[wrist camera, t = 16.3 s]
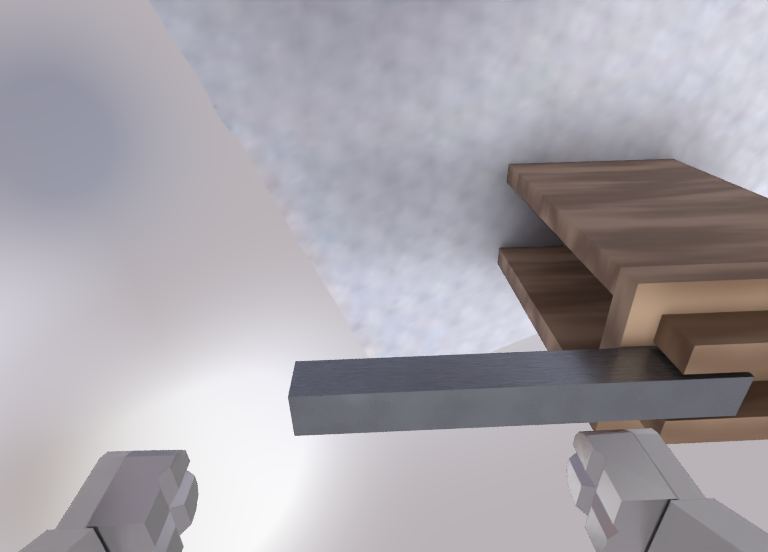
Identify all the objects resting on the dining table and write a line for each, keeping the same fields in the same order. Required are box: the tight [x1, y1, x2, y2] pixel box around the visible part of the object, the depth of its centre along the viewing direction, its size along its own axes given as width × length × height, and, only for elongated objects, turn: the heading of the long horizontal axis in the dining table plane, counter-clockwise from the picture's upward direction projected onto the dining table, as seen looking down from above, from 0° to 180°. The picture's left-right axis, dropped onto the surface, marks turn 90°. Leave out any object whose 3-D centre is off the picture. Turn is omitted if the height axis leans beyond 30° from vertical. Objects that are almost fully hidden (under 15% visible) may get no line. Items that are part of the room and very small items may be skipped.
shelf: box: [498, 159, 768, 444], centre depth 39 cm, size 12×18×29 cm, turn 91°
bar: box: [288, 346, 754, 436], centre depth 27 cm, size 3×26×3 cm, turn 91°
